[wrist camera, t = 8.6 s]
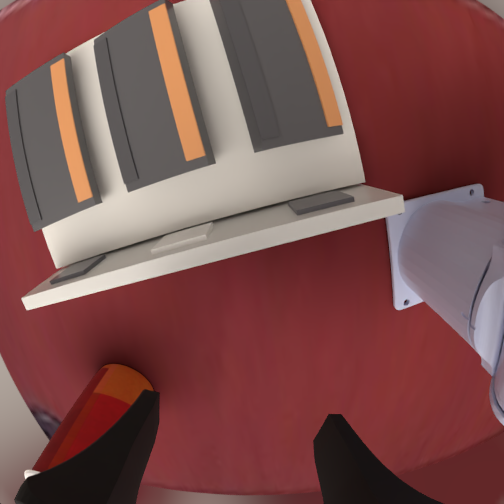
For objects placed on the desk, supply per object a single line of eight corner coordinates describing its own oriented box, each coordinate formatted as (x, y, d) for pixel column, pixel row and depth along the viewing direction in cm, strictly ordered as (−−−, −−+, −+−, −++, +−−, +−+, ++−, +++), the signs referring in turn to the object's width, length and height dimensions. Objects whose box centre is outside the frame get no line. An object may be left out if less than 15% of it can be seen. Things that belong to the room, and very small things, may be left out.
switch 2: (172, 3, 11) (162, -4, 10) (216, 163, 14) (208, 165, 13) (103, 42, 13) (92, 39, 12) (138, 189, 16) (126, 193, 15)
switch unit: (297, -11, 14) (314, -60, 8) (359, 195, 18) (405, 212, 12) (25, 92, 15) (-27, 83, 9) (71, 274, 19) (26, 310, 13)
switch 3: (284, -8, 13) (293, -17, 12) (332, 136, 15) (345, 133, 14) (206, -10, 11) (212, -21, 10) (254, 153, 14) (264, 149, 13)
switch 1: (70, 57, 13) (62, 52, 12) (102, 202, 16) (94, 205, 14) (13, 92, 13) (4, 90, 11) (42, 228, 16) (33, 232, 14)
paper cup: (109, 414, 24) (64, 526, 10) (73, 354, 21) (-4, 471, 8) (180, 414, 23) (153, 550, 10) (149, 350, 21) (86, 507, 8)
